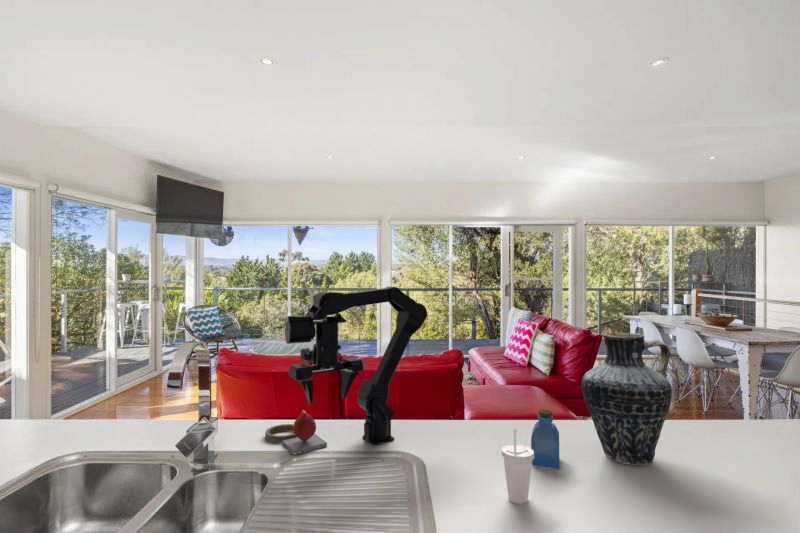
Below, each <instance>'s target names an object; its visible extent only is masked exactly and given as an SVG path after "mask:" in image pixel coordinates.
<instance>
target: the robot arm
mask: <svg viewBox="0 0 800 533" xmlns="http://www.w3.org/2000/svg"><path fill="white" fill-rule="evenodd" d="M382 303H388V304H390V306H391V307H392V308H393V309H394V310H395V311H396V312H397V315H396V318H395V319H396V320H395V330H394V332H393V334H392V336H391V339H390V341H389V342H388V345H387V347H386V349H385V351H384V353H383V355H382V358H381V359H380V362H379V365H378V366H377V368H376V371H375V372H374V374H373V375H372V377H371V378H369V380H367V379H365V378H363V380H362V381H361V384H360V387H359V389H358V390H357V391H356V393H357V397H356V400H357V404H358V406H359V408H362V410H363V412H364V413H365V414H366V415H367V416H366V415H365V416H364V417H365V421H364V423H363V435H362V438H363V440H365V441H367V442H369V443H370V444H372V445H379V444H383V443H387V442H391V441H394V440H395V437H394V436H392V420H393V418H394V415H395V411H394V409H393V408H391V407H390V405H388V399H389V396H390V395H389V393H390V390H389V389H390V383H391V380H392V379H393V376H394V375H395V372H396V370H397V368H398V365H399V363H400V361H401V359H402V357H403V354H404V352H405V350H406V349H407V346H408V344H409V342H410V339H411V338H412V336H413V335H415V333H416V332H418V331H419V330H420V329H421V327H422V326H423V324H424V323H425V321H426V320H427V317H428V311H427V308H426V306H425V305H424V304H423V303H420V302H417V301H416V300H414V299H413V298H411V297H410V296H408V295H407V294H406V293H404V292H403V291H402V290H401V289H399V288H398V287H396V286H387V287H383V288H377V289H376V288H375V289H369V290H368V289H367V290H360V291H359V290H358V291H352V292H341V291H340V292H337V291H325V290H324V291H320V292H318V293H317V294H316V295H315V296H314V298H313V304H312V305H311V307H310V308H309V309H308V311H307V312H306V314H305V315H297V316H296V315H287V317H286V318H287V319H286V323H285V327H284V337H285V338H284V339H285V342H286V344H287V345H288V344H303V343H311V342H312V340H314V338H315V343H313V348H312V350H310V348H308V347H307V348H302V349H300V354H299V355H300V361H301V362H302V363H299V364H291V365H290V366H289V367H288V377H289V378H291V379H293V380H295V381H297V382H299V383H300V385H301V387H302V389H303V391H304V394H305V396H306V399H307V402H308V405H309V406H313V401H314V379H312V376H313V374H321V373H327V372H334V371H339V372H340V375H341V399H343V400H346V398H347V395H348V393H349V391H350V389H351V386H352V384H353V382H354V381H355V379H356V377H357V376H359V375H360V372H363V371H364V370H365V365H364V364H365V363H364V361H363V360H362V359H360V358H357V357H355V356H352V357H351V356H350V357H344V358H341V360H339V350H341V349H342V346H341V344H339V324H342V323H347V320H346V319H345V317H343V316H342V314H341V313H342V312H345V311H347V310H349V309H353V308H354V307H355V308H356V307H361V306H369V305H375V304H376V305H377V304H382ZM303 362H307V364H306V363H303Z"/></svg>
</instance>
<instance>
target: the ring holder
mask: <svg viewBox="0 0 800 533" xmlns="http://www.w3.org/2000/svg"><path fill="white" fill-rule="evenodd" d="M293 426H294V423H285V424H283V423H282V424H278V425H273V426H270V427H269V428H267V429H266V430H265V434H264V435H265V437H264V438H266V439H265V440H266V441H267V442H270V443H275V444H281V443H282V441H283V440H287V439H291V438H296V437H297V436H296V435H295V434H294V433H290V434H283V435H276V433H279V432H289V431H290V432H294V431H293Z"/></svg>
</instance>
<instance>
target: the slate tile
mask: <svg viewBox="0 0 800 533" xmlns="http://www.w3.org/2000/svg"><path fill="white" fill-rule="evenodd" d="M282 446H284V447H285V448H286V449H287V450H288V451H289V452H290V451H291V452H292V453H291V452H290V453H291V454H293V453H298V454H300V453H299V452H302V453H305V452H304V451H306V452H309V450H310V451H314V450H317V449H323V448H325V447H328V442H327V441H325V440H324V439H323V438H321V437H320V436H319V435H317V434H316V433H314V435H313V436H312V437H311V438H310V439H308V440H307V441H305V442H303V441H301V440H300V439H299V438H298V437H296V438H291V439H287V440H283V441H282Z"/></svg>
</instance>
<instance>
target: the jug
mask: <svg viewBox="0 0 800 533" xmlns="http://www.w3.org/2000/svg"><path fill="white" fill-rule="evenodd" d="M602 335H603V339H604V344H605V347H606V357H605V360H604V361H603V362H602V363H600V364H599V365H597V366H595V367H592V368H590V370H588V371H586V372H585V373H584V375H583V376H582V378H581V391H582V397H583V401H584V403H585V405H586V408H587V410H588V412H589V415H590V418H591V420H592V421H593V426H594V429H595V431H596V434H597V437H598V439H599V442H600V445H601V446H602V450H603V453H604V454H605V455H606V456H607V458H609V459H610V460H613V461H615V462H619V463H621V464H624V465H630V466H647V465H649V464H651V463H653V462H654V460H655V456H656V447H657V445H658V442H659V440H660V437H661V432H662V429H663V426H664V424H665V422H666V418H667V417H668V414H669V412H670V407H671V403H672V398H673V395H672V394H673V388H672V385H671V383H670V381H669V380H668V379H667V375H666V371H667V367H668V364H669V361H670V358H671V350H670V348H669V346H668V344H667V343H665V342H662V341H660V340H658V339H653V340H650V341H647V340H644V338H645V334H643V333H638V332H634V333H633V332H632V333H631V332H614V331H613V332H610V333H607V332H606V333H605V332H603V334H602ZM653 347H659V348H660V359H659V363H658V367H657V369H656V370H654V369H653V368H651V367H650V366H648V365H647V364H646V363H645V361H644V358H643V352H644V350H647V349H650V348H653Z"/></svg>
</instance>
